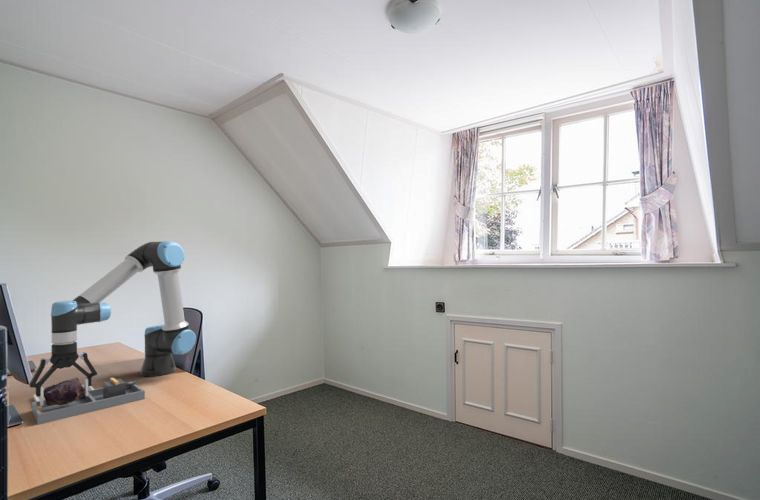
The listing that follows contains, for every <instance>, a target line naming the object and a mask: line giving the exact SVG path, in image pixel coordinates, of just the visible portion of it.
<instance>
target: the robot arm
mask: <svg viewBox="0 0 760 500" xmlns="http://www.w3.org/2000/svg"><path fill="white" fill-rule="evenodd" d="M185 257H186V256H185V251H184V248H183V247H182V246H181V245H180V244H179V243H178V242H175V241H170V240H169V241H168V240H165V241H163V240H162V241H150V242H149V241H148V242H146V243H144V244H141V245H139V246H138V247H137V248H135V249H134V250H132V251H131V252H130V253H128V255H126V256H124V261H121V263H120V264H118V265H117V266H116V267H114V268H113V269H112V270H110V271H109V272H107V274H105V275H104V276H103V277H101V278H100V279H99V280H97V281H96V282H95V283H93V284H92V285H91V286H89V287H88V288H87V289H86V290H85V291H83V292H81V293H80V294H79V295H78V296H77V297H75V298H73V299H72V300H61V301H55V302H53V303H52V304H51V310H50V311H51V313H50V316H51V318H50V319H51V320H50V321H51V344H52V345H51V355H50V356H51V357H50V358H40V359H39V360H40V361H39V366H38V368H37V369H36V372H35V373H34V375H33V376H32V378H31V380H30V382H29V384H28V386H29V387H30V388H35V394H36V396H37V397H39V396H40V398H39V400H40V405H41V406H44V400H45V397H44V393H43V391H44V386H43V385H44V384H45V382H47V380H48V379H49V378H50V377H51V376H52V374H53V373H54V372H55V371H56V370H57V369H59V370H61V369H64V368H67V369H68V368H71V367H72V366H73V367H75V368H76V369H77V370H78V371H79V372H80V373H82V374H83V375H84V376H86V377H84V378H83V379H84V380H83V383H84V384H83V385H84V393H85V394H84V395H85V396H88V391H89V389H88V386H92V378H93V377H94V376H97V375H98V372H97V371H96V369H95V368H94V365H93V364H92V363H91V361H90V359H89V358H88V353H87V352H86V351H84V352H82V353H78V342H77V340H78V334H77V333H78V331H77V330H78V326H79V325H84V324H93V323H101V322H105V321H107V320H109V319H110V318H111V315H112V308H111V306H110V304H109V303H107V302H103V300H105V299H106V298H107V297H109V296H110V295H112V293H113V292H115V291H116V290H118V289H119V288H120V287H122V286H123V285H124V284H125V283H126V282H127V281H128V280H130V279H131V278H132V277H134V276H135V275H136V274H137V273H142V272H143V271H145V270H146V269H148V268H151V267H152V272H153V273H154V274H156V275H157V280H158V287H159V292H160V299H161V301H160V302H161V307H162V313H163V319H164V320H163V321H164V324H159V325H153V326H147V327H146V328H145V330H144V335H143V336H144V359H143V363H142V365H141V368H140V376H142V377H159V376H164V375H169V374H172V373H174V372H176V368H177V367H176V364H175V360H174V358H173V355H172V354H174V355H185V354H188V353H189V352H190V351H192V349H193V347H194V346H195V344H196V340H197V336H196V334H195V332H194V331H193V330H191V329H190V324H189V322H188V321H186V319H185V314H184V313H185V312H184V306H183V305H184V304H183V300H182V299H183V298H182V293H181V292H182V291H181V285H180V283H181V282H180V277H179V272H180V271H181V269H182V266H181V265H182V264H183V262H184V260H185ZM79 358H80V360H83V361H84V363H85V365H86V366H87V368H88V370H89V371H90V372H88V371H87V370H85V369H84V368H83V367H82V366H81V365H79V364H78V363H77V360H78V359H79ZM49 363H50V364H52V365H51V366H50V367H49V369H48V370H47V371H46V372H45V373H44V375H42V377H41V378H39V377H40V376H41V374H42V373H43V371H44V369H45V366H47V365H48V364H49ZM38 380H39V381H38Z"/></svg>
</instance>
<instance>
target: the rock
mask: <svg viewBox="0 0 760 500" xmlns="http://www.w3.org/2000/svg"><path fill="white" fill-rule="evenodd" d="M82 385H83V384H82V383H81V382H80V379H79V378H78V377H73V378H71V379H66V380H63V381H61V382H59V383H56V384H52V385H49V386H47V387H45V388H43V393H44V400H46V405H47V406H50V405H64V404H65V405H66V404H68V403H71V402H73V401H74V400H77V399H78V398H79V397H81V396H82V395H84V394H85V393H84V388H83V386H82Z"/></svg>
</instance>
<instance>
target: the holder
mask: <svg viewBox="0 0 760 500" xmlns="http://www.w3.org/2000/svg"><path fill="white" fill-rule="evenodd" d="M145 396H146V395H145V390H144V389H143V388H142V387H140V386H139V385H137V381H136V380H132V381H124V380H123V379H121V378H115V377H110V378H109V380H107V381H103V383H102V387H99V388H94V390H88V396H85V395H82V396H81V397H79V398H78V399H77V400H74V401H73V402H71V403H68V404H66V405H65V404H64V405H50V406H47V405H46V400H45V399H44V406H41V405H40V401H37V402H35V401H32V402H31V413H32V415H33V416H34V418H35V422H36V423H37V425H42V424H45V423H49V422H53V421H54V422H55V421H58V420H61V419H62V420H63V419H66V418H69V417H74V416H79V415H83V414H86V413H91V412H95V411H99V410H104V409H107V408H112V407H117V406H120V405H124V404H128V403H134V402H137V401H141V400H145Z"/></svg>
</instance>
